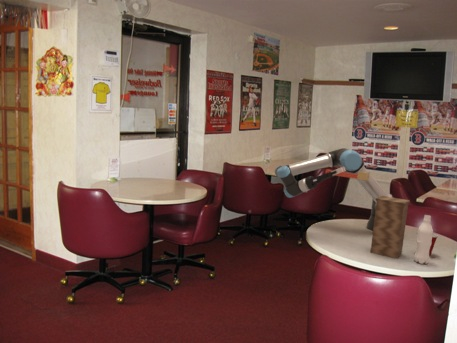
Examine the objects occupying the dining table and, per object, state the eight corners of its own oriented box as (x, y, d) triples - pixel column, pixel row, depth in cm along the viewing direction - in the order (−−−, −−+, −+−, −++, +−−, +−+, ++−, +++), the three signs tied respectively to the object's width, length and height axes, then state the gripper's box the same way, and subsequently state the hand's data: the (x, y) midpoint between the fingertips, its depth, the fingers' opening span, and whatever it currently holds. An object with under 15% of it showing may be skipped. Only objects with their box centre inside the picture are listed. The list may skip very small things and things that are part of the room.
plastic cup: (431, 252, 256) (434, 231, 254) (438, 258, 245) (441, 237, 243) (411, 250, 257) (414, 229, 255) (417, 256, 246) (420, 235, 244)
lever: (324, 174, 262) (325, 167, 261) (327, 173, 266) (328, 166, 265) (366, 180, 249) (367, 173, 248) (369, 179, 253) (369, 172, 252)
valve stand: (369, 252, 248) (375, 198, 244) (375, 247, 257) (381, 195, 253) (397, 259, 240) (404, 203, 235) (402, 254, 249) (409, 200, 244)
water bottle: (419, 264, 233) (425, 217, 229) (410, 260, 240) (417, 213, 236) (431, 264, 235) (438, 217, 231) (423, 260, 242) (429, 214, 238)
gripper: (316, 188, 277) (350, 173, 264) (304, 191, 263) (340, 176, 251) (311, 176, 278) (345, 161, 265) (299, 179, 264) (335, 164, 252)
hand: (343, 169), depth 258 cm, fingers closed on lever, 3 cm apart
